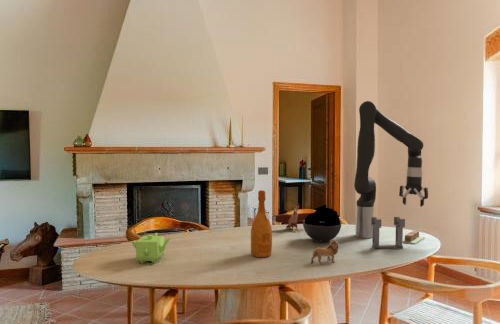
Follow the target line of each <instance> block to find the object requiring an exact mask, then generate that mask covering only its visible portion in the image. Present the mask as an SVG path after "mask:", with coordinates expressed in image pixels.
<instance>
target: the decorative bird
mask: <svg viewBox="0 0 500 324" xmlns="http://www.w3.org/2000/svg"><path fill="white" fill-rule="evenodd" d="M299 209H300V203H297V204H296V205H295V207H294V210H293V213H290V214H289V213H284V214H276V215H272V217H271V219H272V222H273V223H275V222H277V223H278V224H282V223H284V224H287V225H286V227H285V228H286V229H292V230H293V231H294V233H296V232H297V231H298V232H300V229H299V227H298V222H303V221H305V219H306V217H307V216H308V215H309V214H310V213H311V212H299V213H298V211H299ZM294 227H295V228H294ZM295 229H296V230H295Z"/></svg>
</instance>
